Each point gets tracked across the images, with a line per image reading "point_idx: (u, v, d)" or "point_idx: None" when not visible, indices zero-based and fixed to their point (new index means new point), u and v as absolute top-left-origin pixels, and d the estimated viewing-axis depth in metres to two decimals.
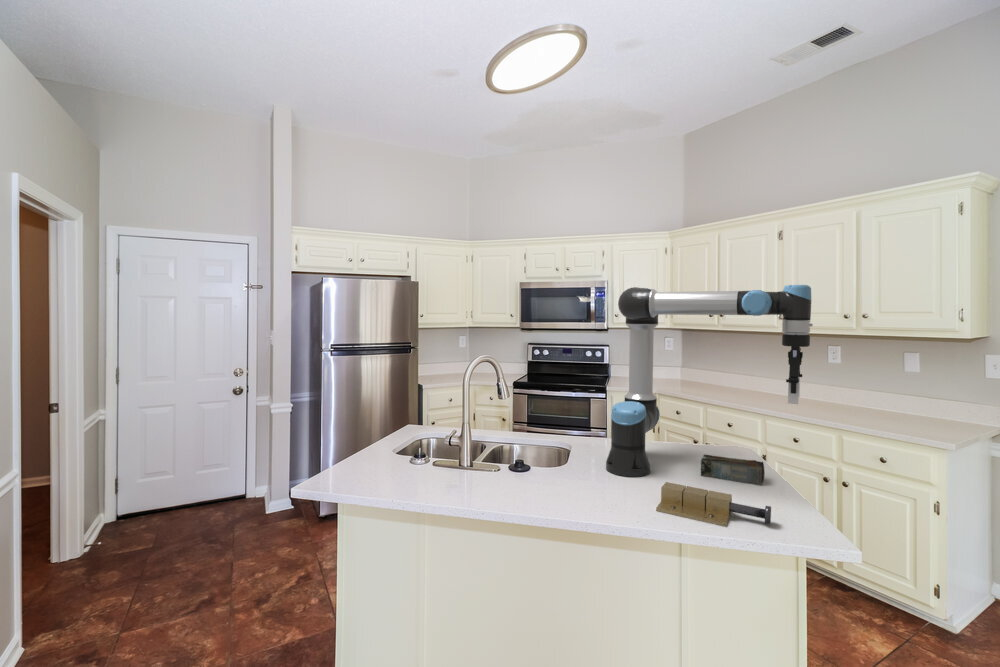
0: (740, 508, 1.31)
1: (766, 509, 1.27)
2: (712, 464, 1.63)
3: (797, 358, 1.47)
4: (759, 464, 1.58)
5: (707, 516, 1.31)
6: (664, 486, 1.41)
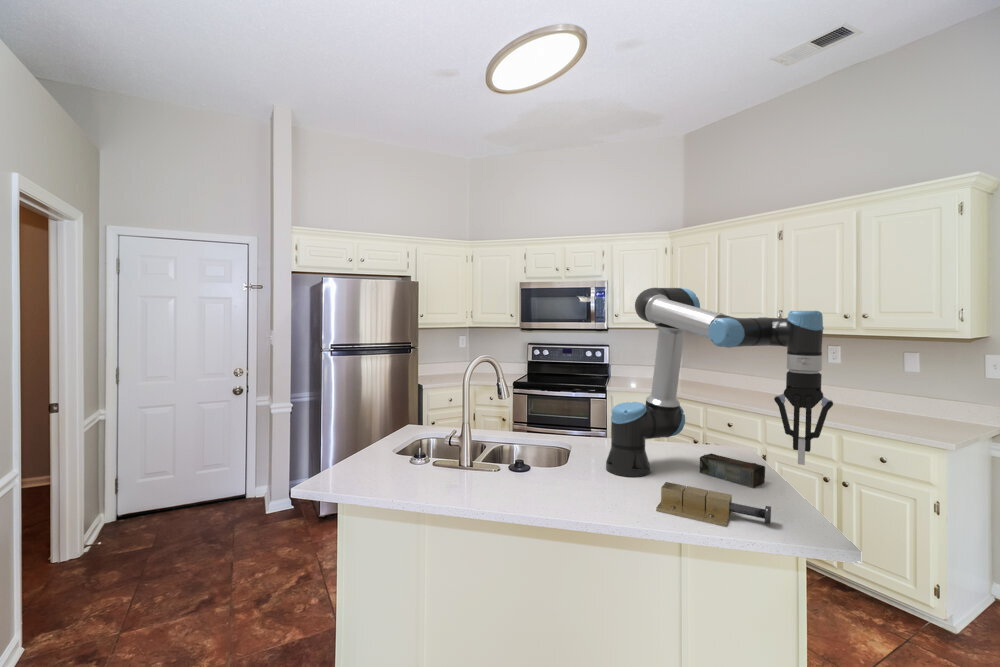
0: (740, 508, 1.31)
1: (766, 509, 1.27)
2: (709, 462, 1.65)
3: None
4: (755, 467, 1.56)
5: (707, 516, 1.31)
6: (664, 486, 1.41)
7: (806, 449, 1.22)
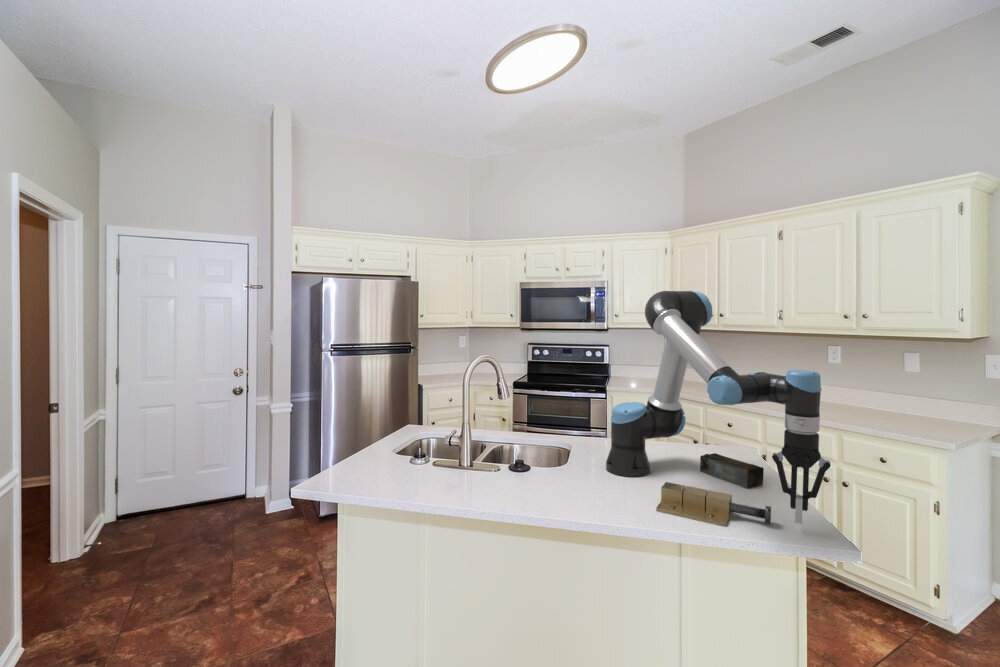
0: (740, 508, 1.31)
1: (766, 509, 1.27)
2: (709, 461, 1.66)
3: (776, 464, 1.26)
4: (750, 468, 1.55)
5: (707, 516, 1.31)
6: (664, 486, 1.41)
7: (803, 508, 1.23)
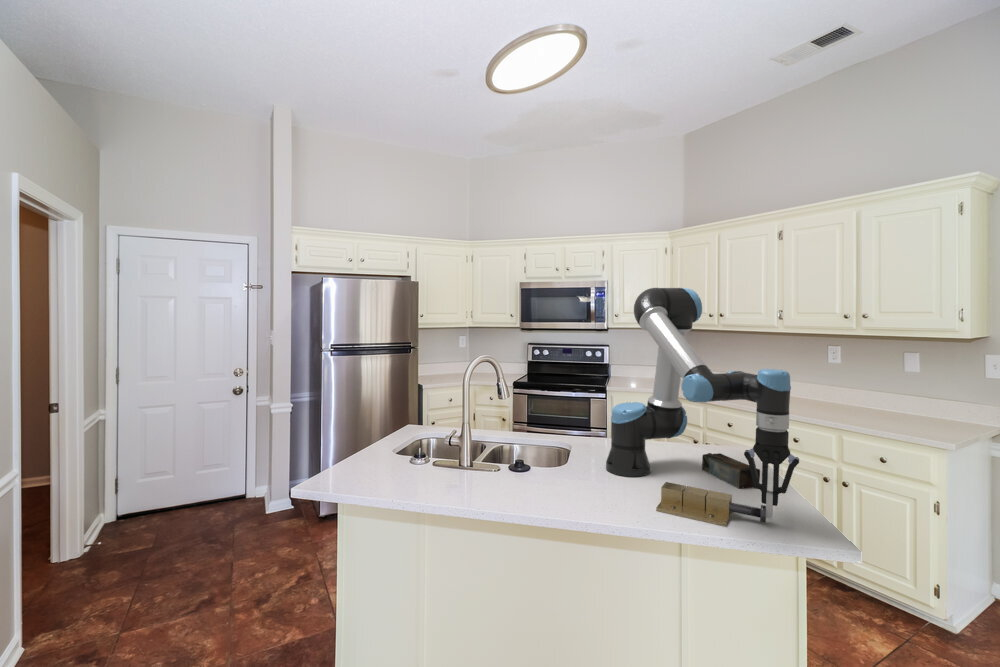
0: (736, 507, 1.31)
1: (761, 508, 1.27)
2: (709, 460, 1.67)
3: (748, 461, 1.29)
4: (744, 468, 1.54)
5: (707, 516, 1.31)
6: (664, 486, 1.41)
7: (773, 503, 1.27)
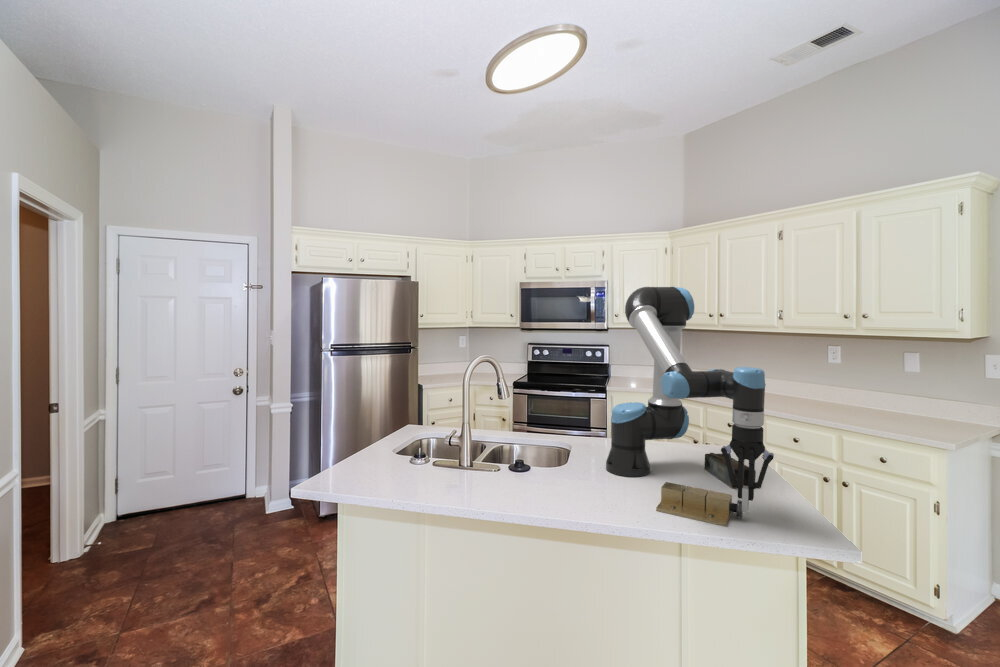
0: None
1: (738, 503, 1.31)
2: (710, 460, 1.68)
3: (725, 457, 1.32)
4: None
5: (707, 516, 1.31)
6: (664, 486, 1.41)
7: (749, 498, 1.30)
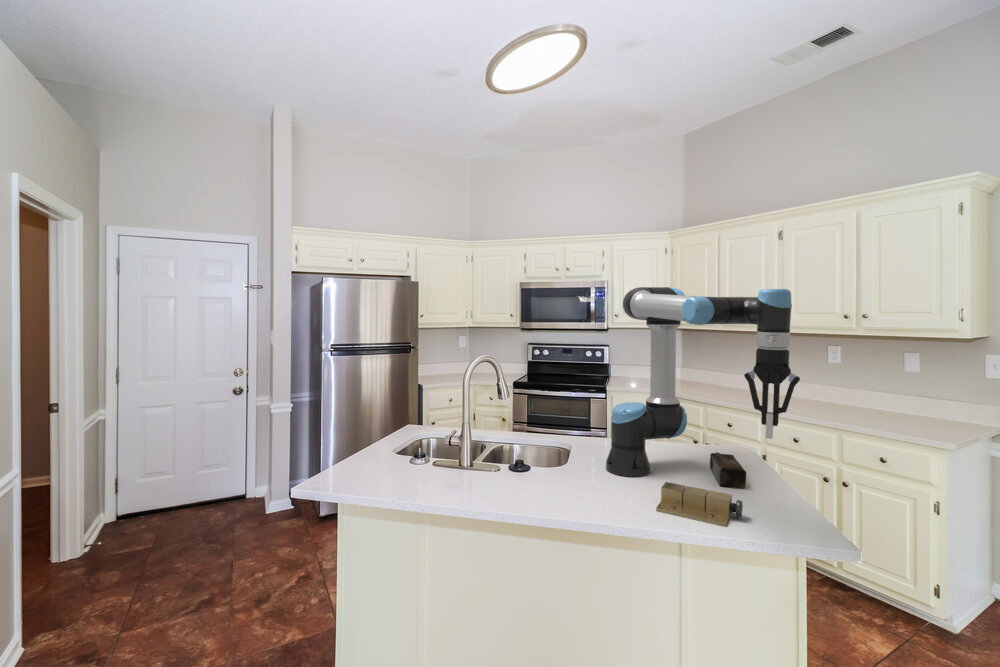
0: None
1: (737, 503, 1.31)
2: (712, 459, 1.69)
3: (748, 382, 1.28)
4: (728, 467, 1.55)
5: (707, 516, 1.31)
6: (664, 486, 1.41)
7: (774, 423, 1.26)
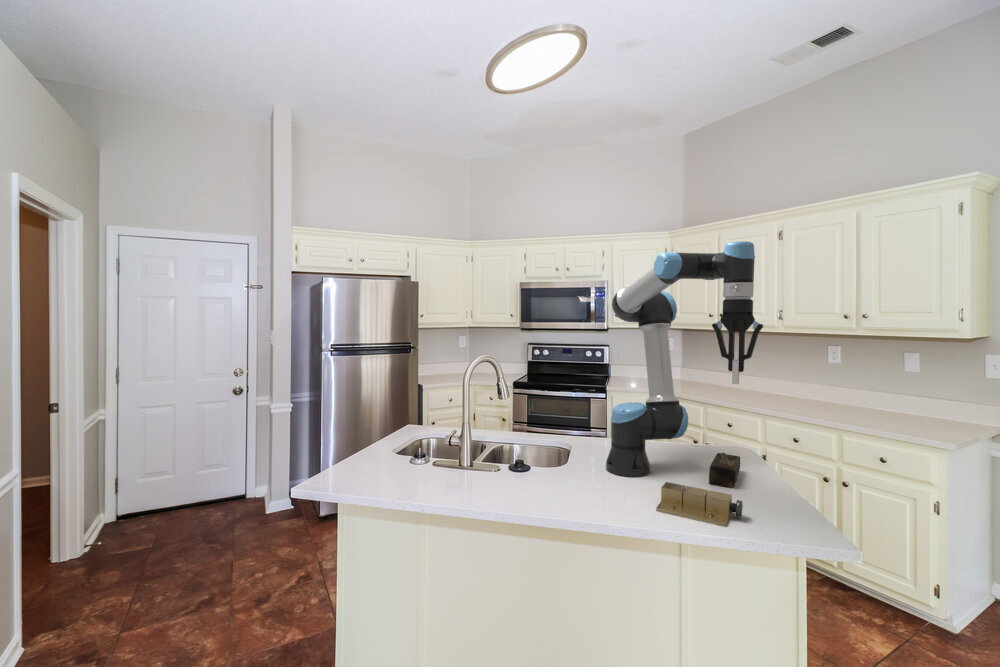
0: None
1: (737, 503, 1.31)
2: None
3: (716, 332, 1.36)
4: (718, 466, 1.56)
5: (707, 516, 1.31)
6: (664, 486, 1.41)
7: (739, 370, 1.33)
